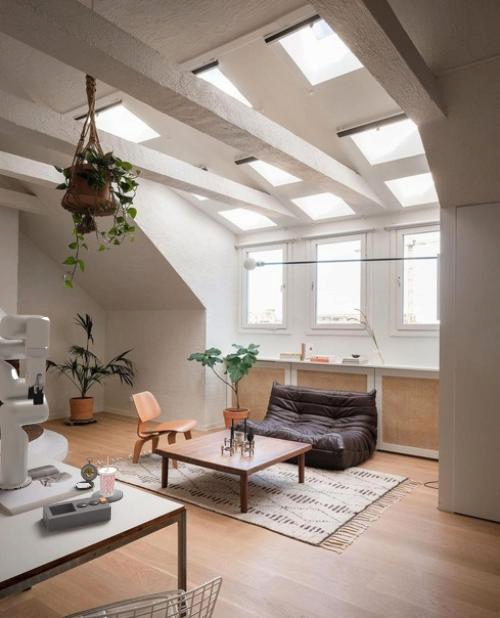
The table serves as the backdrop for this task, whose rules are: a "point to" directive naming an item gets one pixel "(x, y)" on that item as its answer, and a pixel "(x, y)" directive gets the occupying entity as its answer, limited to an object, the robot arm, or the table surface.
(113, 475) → the beverage cup
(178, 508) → the table surface
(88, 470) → the pocket watch
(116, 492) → the slate mat
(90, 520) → the gray desk organizer
